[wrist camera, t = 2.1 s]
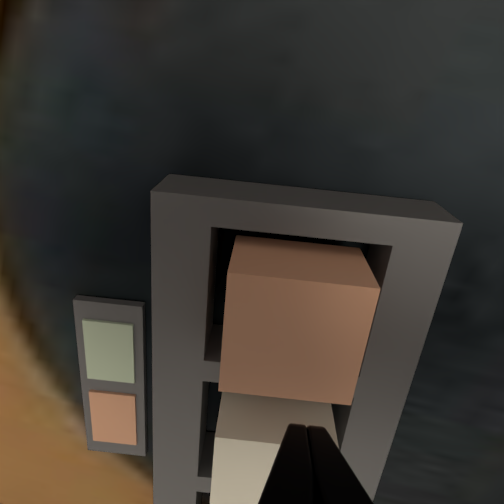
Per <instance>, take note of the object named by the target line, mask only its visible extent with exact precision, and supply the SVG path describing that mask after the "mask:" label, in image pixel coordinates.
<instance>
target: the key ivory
mask: <svg viewBox="0 0 504 504" xmlns="http://www.w3.org/2000/svg"><path fill="white" fill-rule="evenodd" d="M290 423H295V424H303V425H305V426H306V427H307V426H309V425H313V426H322V427H324V428H326V430H327V431H328V433H329V434H330V436H331V437H332V439H333V440H334V442H335V444H336V445H337V447H338V448H339V446H338V440H337V434H336V429H335V423H334V418H333V412H332V406H331V403H323V402H314V401H305V400H295V399H286V398H277V397H268V396H258V395H249V394H240V393H231V392H222V396H221V402H220V408H219V414H218V421H217V427H216V433H215V441H214V454H213V467H212V480H211V493H210V504H258V502H259V499H260V497H261V494H262V492H263V489H264V486H265V484H266V481H267V479H268V476H269V473H270V471H271V468H272V465H273V463H274V460H275V458H276V455H277V452H278V450H279V447H280V445H281V442H282V439H283V437H284V434H285V432H286V429H287V426H288V425H289V424H290Z"/></svg>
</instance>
